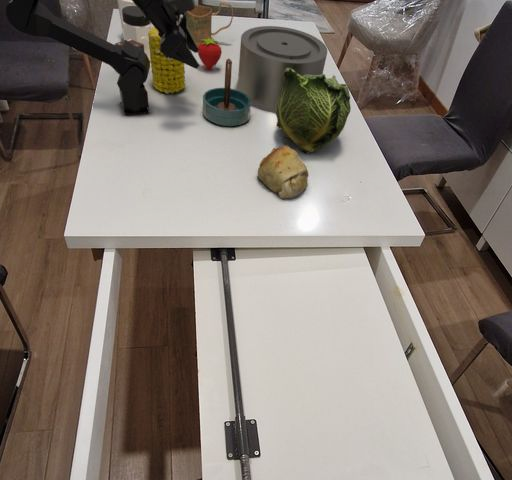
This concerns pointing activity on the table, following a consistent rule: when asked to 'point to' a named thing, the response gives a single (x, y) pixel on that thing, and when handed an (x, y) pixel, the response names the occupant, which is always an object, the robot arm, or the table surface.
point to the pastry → (283, 172)
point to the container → (276, 61)
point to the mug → (202, 22)
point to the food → (164, 67)
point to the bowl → (226, 116)
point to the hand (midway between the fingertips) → (197, 59)
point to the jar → (136, 27)
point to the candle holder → (123, 2)
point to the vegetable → (312, 109)
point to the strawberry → (209, 52)
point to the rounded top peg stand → (227, 88)
